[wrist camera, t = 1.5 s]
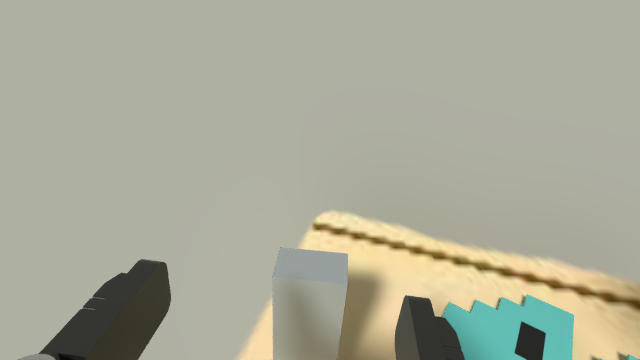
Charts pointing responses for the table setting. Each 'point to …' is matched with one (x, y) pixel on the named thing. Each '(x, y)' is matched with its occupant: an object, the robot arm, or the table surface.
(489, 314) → the alien figure
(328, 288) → the grey rectangular block
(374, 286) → the table surface
